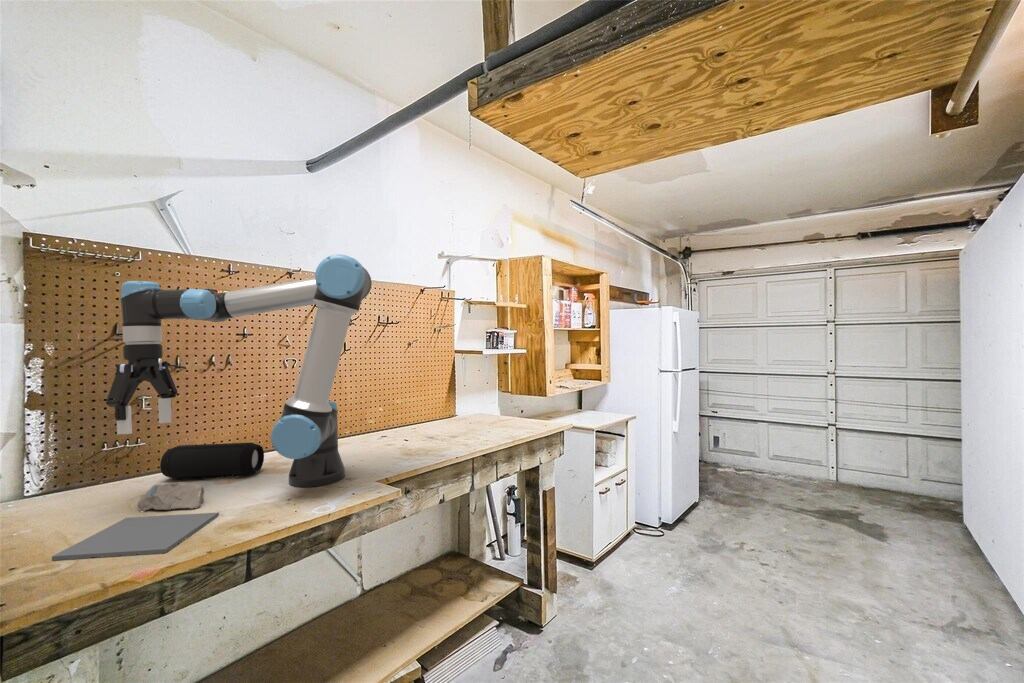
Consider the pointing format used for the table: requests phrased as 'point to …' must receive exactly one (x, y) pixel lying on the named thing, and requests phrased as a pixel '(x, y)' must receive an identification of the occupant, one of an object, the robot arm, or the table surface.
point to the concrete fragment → (172, 496)
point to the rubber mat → (138, 536)
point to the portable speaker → (212, 460)
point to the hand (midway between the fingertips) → (146, 428)
